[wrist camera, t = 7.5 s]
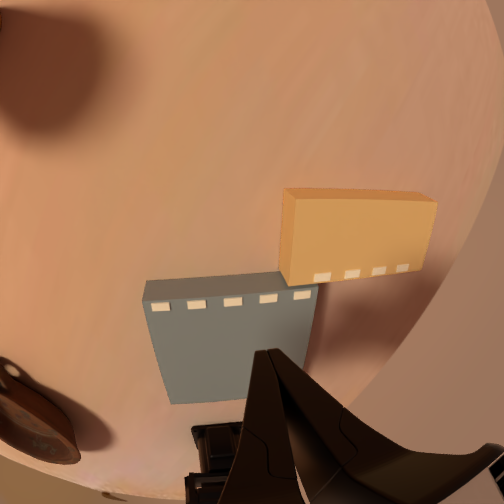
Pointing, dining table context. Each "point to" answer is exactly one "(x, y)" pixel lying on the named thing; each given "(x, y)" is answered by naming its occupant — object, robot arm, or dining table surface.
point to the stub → (352, 234)
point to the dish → (35, 424)
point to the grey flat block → (224, 330)
